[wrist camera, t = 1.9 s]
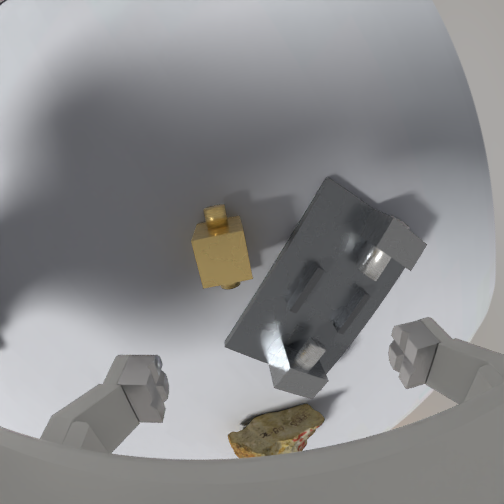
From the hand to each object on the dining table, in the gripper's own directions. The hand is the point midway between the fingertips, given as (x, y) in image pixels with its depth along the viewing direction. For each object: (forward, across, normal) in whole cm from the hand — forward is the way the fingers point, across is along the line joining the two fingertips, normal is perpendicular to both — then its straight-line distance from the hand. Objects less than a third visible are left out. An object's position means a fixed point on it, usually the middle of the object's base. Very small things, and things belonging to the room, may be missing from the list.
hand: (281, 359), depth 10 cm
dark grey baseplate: (+20, +7, -8) cm, 23 cm away
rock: (+20, +1, -29) cm, 35 cm away
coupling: (+19, -3, -2) cm, 20 cm away
